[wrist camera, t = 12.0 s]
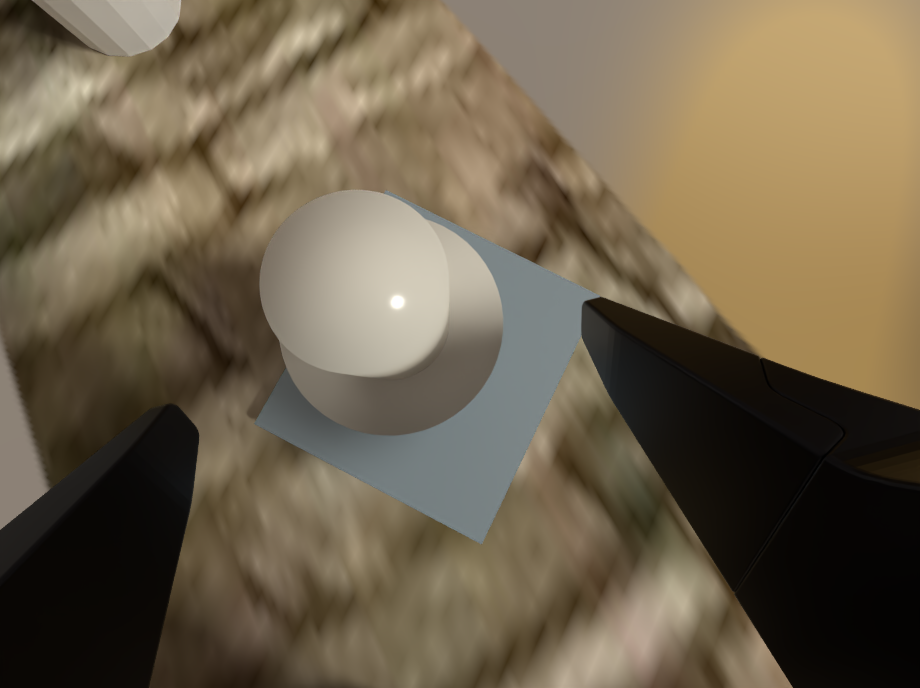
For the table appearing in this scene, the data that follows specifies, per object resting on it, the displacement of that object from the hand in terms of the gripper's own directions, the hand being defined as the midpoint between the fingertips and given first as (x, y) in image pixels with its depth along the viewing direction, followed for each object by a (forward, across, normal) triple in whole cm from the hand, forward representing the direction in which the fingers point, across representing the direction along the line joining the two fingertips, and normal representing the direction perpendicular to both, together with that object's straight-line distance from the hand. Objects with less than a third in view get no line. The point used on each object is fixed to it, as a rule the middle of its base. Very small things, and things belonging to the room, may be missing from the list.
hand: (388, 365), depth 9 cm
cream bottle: (+7, 0, +6) cm, 9 cm away
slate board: (+8, -1, +6) cm, 10 cm away
